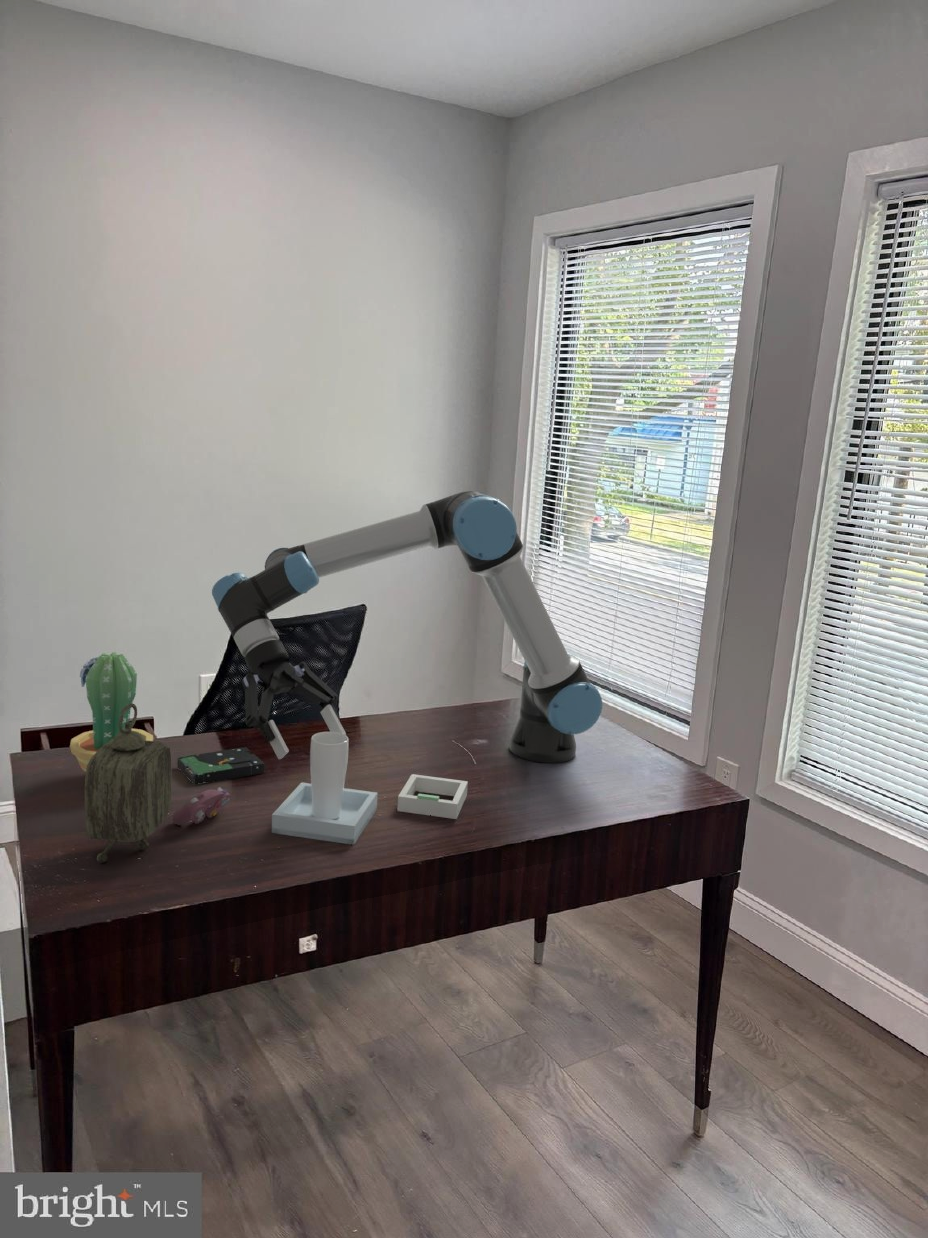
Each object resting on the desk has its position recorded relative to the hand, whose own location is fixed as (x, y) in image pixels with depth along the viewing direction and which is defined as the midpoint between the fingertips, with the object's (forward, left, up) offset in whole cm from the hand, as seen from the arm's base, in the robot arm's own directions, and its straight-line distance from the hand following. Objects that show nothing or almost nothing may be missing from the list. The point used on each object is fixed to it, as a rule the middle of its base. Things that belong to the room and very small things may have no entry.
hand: (313, 746), depth 167 cm
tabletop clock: (+24, +21, -14) cm, 35 cm away
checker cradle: (-20, -13, -14) cm, 28 cm away
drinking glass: (-3, +1, -13) cm, 13 cm away
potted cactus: (+42, -4, -14) cm, 44 cm away
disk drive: (+24, -15, -14) cm, 32 cm away
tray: (-3, +1, -14) cm, 14 cm away
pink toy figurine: (+18, +7, -14) cm, 24 cm away
